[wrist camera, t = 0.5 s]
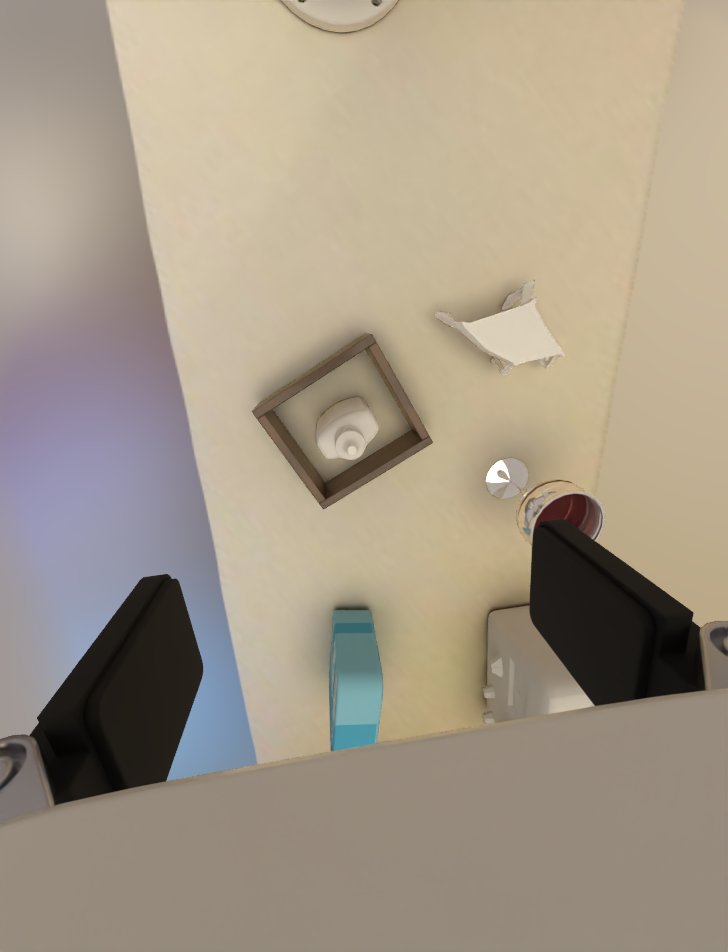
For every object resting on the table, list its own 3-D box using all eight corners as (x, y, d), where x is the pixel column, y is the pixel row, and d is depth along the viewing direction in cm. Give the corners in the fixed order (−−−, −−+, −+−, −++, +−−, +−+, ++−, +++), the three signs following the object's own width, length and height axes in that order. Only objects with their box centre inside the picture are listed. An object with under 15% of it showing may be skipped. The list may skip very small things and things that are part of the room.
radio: (474, 597, 51) (606, 823, 28) (537, 588, 52) (718, 802, 28) (474, 721, 59) (577, 980, 35) (529, 711, 59) (666, 961, 36)
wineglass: (466, 485, 45) (514, 536, 34) (506, 438, 44) (570, 475, 33) (507, 516, 47) (565, 573, 36) (547, 472, 46) (621, 517, 35)
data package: (333, 603, 49) (337, 685, 38) (370, 604, 50) (384, 684, 38) (328, 679, 53) (331, 773, 42) (362, 678, 54) (373, 771, 42)
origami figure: (550, 282, 39) (581, 276, 34) (539, 371, 42) (566, 376, 37) (429, 283, 38) (445, 276, 33) (426, 374, 41) (440, 379, 36)
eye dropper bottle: (314, 397, 40) (312, 423, 29) (370, 395, 41) (389, 420, 30) (317, 439, 42) (316, 479, 31) (370, 437, 42) (388, 476, 31)
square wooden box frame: (258, 403, 40) (251, 411, 36) (366, 333, 39) (371, 333, 35) (323, 492, 44) (323, 509, 40) (422, 431, 43) (433, 442, 39)
